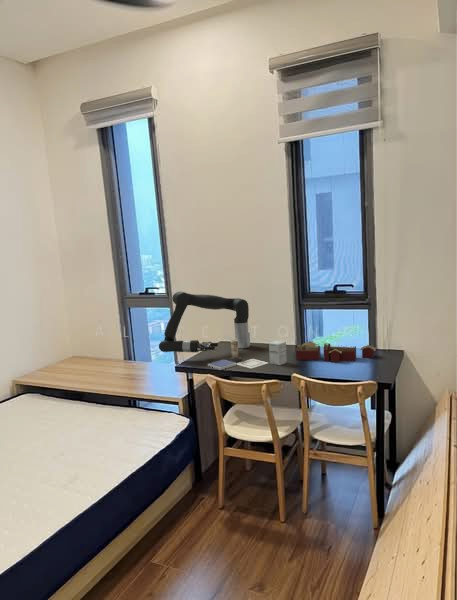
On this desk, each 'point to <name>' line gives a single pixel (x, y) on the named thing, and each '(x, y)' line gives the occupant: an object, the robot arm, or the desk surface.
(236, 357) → the stamp
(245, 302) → the robot arm
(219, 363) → the ink pad
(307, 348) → the toy houses
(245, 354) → the desk surface
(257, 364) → the card sheet
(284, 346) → the supplement box
